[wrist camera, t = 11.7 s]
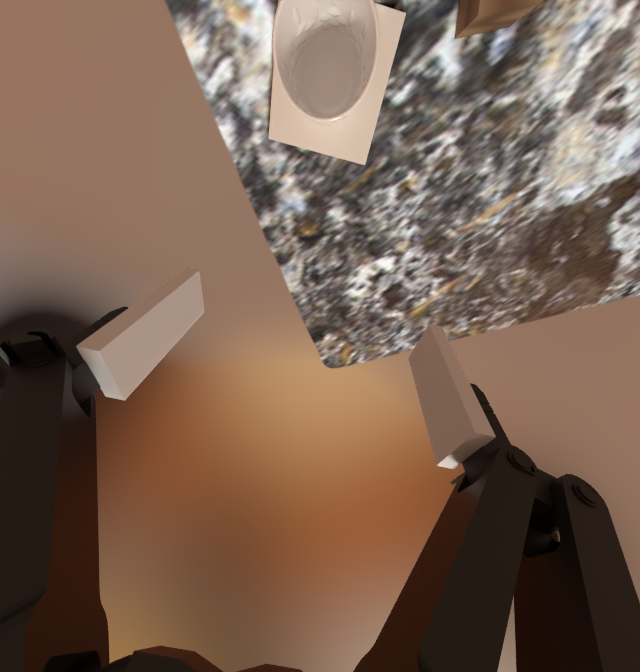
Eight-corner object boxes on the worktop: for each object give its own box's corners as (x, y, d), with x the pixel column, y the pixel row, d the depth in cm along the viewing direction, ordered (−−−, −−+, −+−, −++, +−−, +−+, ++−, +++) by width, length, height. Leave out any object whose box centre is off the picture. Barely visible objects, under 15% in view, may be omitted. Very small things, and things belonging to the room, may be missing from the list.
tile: (403, 18, 24) (406, 13, 23) (364, 165, 31) (364, 165, 30) (282, -23, 23) (280, -29, 22) (270, 139, 30) (268, 138, 29)
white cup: (279, 98, 27) (254, 72, 19) (318, 1, 23) (309, -86, 15) (336, 149, 29) (336, 145, 21) (381, 69, 25) (403, 26, 17)
